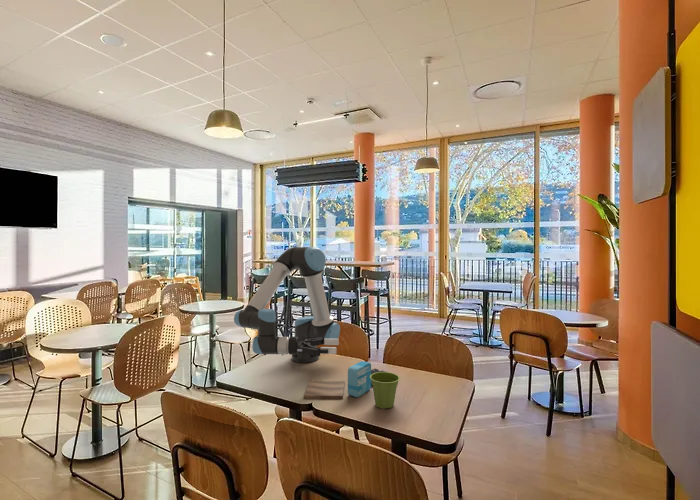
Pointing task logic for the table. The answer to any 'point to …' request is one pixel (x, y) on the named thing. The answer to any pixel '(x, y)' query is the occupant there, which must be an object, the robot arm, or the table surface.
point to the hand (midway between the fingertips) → (337, 346)
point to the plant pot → (384, 388)
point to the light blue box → (359, 379)
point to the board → (325, 389)
